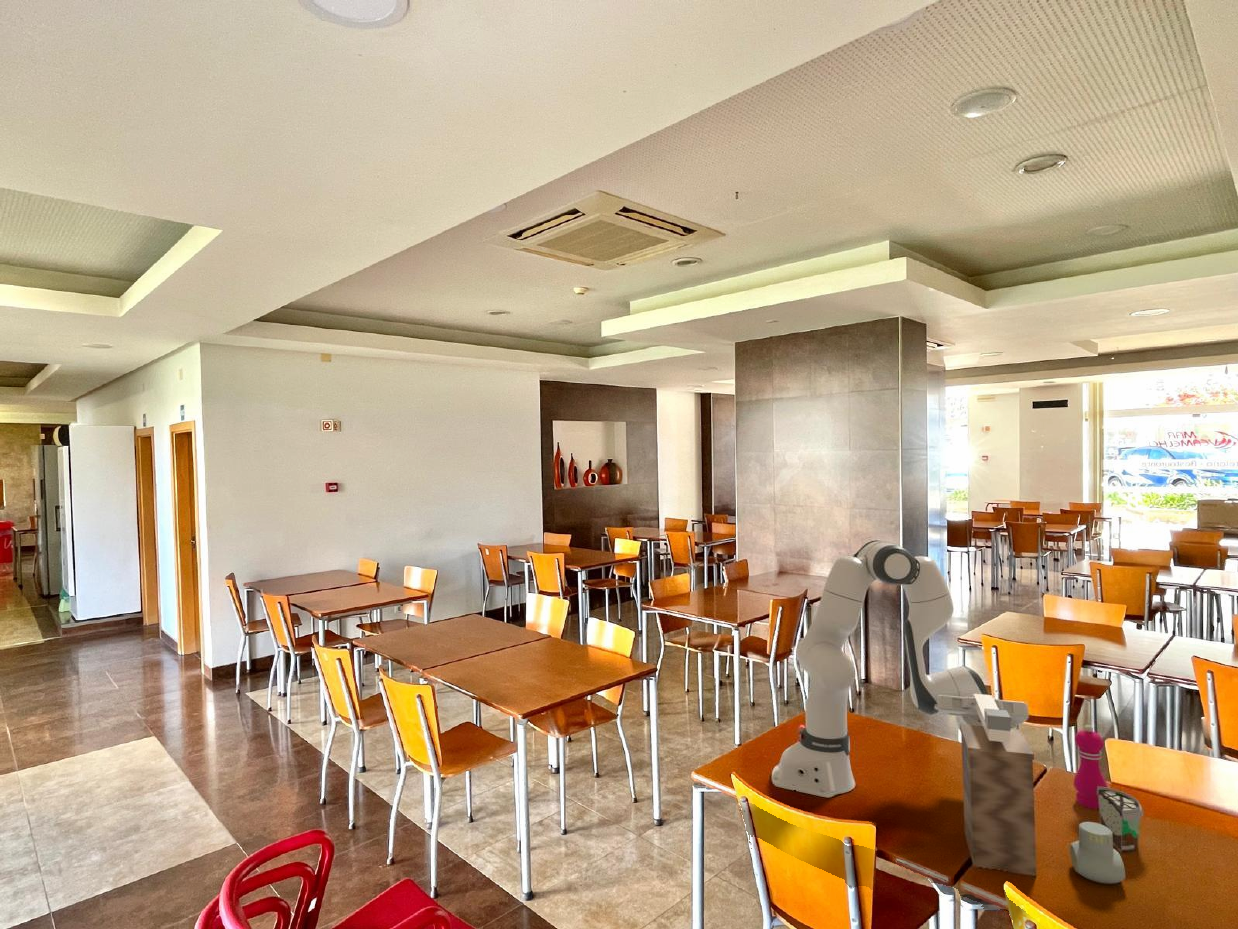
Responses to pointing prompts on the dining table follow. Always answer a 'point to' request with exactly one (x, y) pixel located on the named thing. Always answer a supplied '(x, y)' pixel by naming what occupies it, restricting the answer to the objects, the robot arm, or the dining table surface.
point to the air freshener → (1096, 854)
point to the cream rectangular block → (993, 718)
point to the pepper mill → (1089, 768)
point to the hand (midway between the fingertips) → (984, 701)
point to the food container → (1120, 817)
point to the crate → (998, 801)
